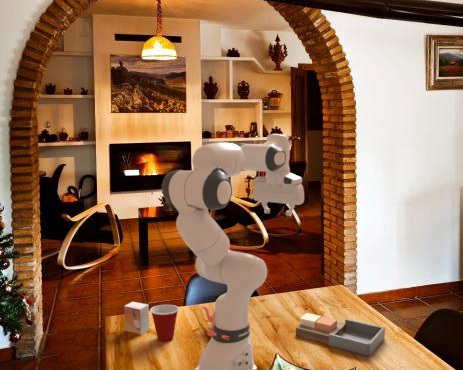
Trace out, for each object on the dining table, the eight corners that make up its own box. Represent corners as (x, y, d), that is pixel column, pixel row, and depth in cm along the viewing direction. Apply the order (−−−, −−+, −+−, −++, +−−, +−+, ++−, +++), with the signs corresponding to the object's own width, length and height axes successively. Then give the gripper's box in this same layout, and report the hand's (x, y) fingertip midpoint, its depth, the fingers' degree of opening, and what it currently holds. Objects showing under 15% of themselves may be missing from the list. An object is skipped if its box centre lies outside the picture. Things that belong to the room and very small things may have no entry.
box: (369, 357, 170) (369, 344, 169) (328, 346, 178) (328, 334, 178) (384, 339, 183) (384, 327, 182) (345, 329, 191) (345, 318, 190)
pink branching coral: (244, 337, 187) (244, 311, 185) (198, 335, 189) (197, 309, 188) (248, 324, 198) (248, 299, 196) (204, 322, 201) (203, 297, 199)
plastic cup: (183, 332, 191) (182, 303, 190) (175, 345, 181) (174, 314, 179) (156, 331, 193) (155, 301, 191) (147, 344, 183) (145, 313, 181)
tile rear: (314, 328, 186) (314, 321, 186) (300, 324, 190) (300, 318, 189) (321, 322, 191) (321, 316, 191) (307, 318, 195) (307, 312, 194)
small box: (124, 331, 194) (123, 305, 192) (133, 326, 198) (132, 300, 197) (141, 335, 190) (139, 309, 188) (150, 329, 195) (148, 304, 193)
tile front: (330, 332, 183) (330, 325, 182) (315, 328, 186) (315, 322, 186) (337, 326, 188) (337, 319, 187) (322, 322, 191) (322, 316, 191)
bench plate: (331, 344, 179) (331, 337, 179) (295, 335, 187) (295, 327, 187) (345, 331, 190) (345, 324, 189) (310, 322, 198) (311, 315, 197)
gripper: (249, 177, 187) (250, 213, 189) (298, 180, 175) (298, 218, 177) (258, 175, 192) (258, 210, 194) (306, 178, 181) (306, 215, 183)
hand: (278, 214), depth 186 cm, fingers open, 8 cm apart
